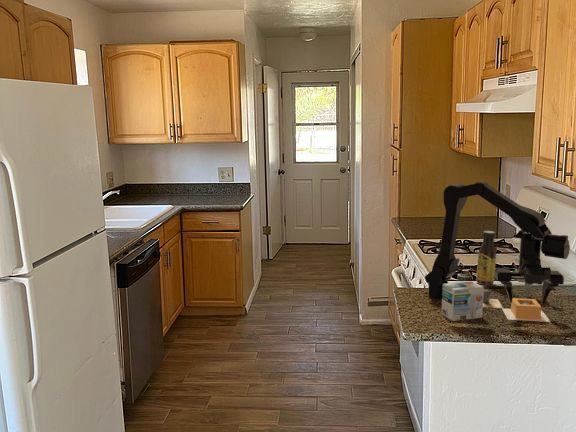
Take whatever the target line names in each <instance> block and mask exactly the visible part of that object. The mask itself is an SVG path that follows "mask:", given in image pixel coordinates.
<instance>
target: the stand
mask: <svg viewBox="0 0 576 432" xmlns="http://www.w3.org/2000/svg"><path fill="white" fill-rule="evenodd" d="M490 292H491V291H490V290H488V289H484V294H483V308H492V309H493V308H495V309H502V308H503V309H504V307H503V306H502V305H503V304H501V302H500V301H499V299H497V298H490V297H491V295H490Z"/></svg>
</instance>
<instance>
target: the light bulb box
mask: <svg viewBox="0 0 576 432" xmlns="http://www.w3.org/2000/svg"><path fill="white" fill-rule="evenodd" d="M484 290H485V288H484V285H482V284H478V283H477V282H475V281H473V280H468V281H461V282H460V281H459V282H448V283H447V284H443V291H442V298H441V314H440V315H442V316H444V317H445V318H447V319H448V320H450V321H451V322H450V323H451V324H459V322H457V321H462V320H463V321H465V320H472V319H473V320H474V319H480V318H481V319H482V318H483V308H484V307H483V294H484Z"/></svg>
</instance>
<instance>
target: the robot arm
mask: <svg viewBox="0 0 576 432" xmlns="http://www.w3.org/2000/svg"><path fill="white" fill-rule="evenodd" d="M477 195H478V196H479V197H481V198H482V199H483V200H485V201H487V202H488V203H490V204H491V205H493V206H494V207H495V208H497V209H498V210H499V211H501V212H503V213H504V214H505V215H507V216H508V217H510V219H511V220H512V221H513V223H514V224H515V225H516V226H517V227H518V228H519V229H520V230H518V232H517V233H516V234H514V235H513V238H514V239H519V240H520V242H519V243H520V244H519V254H518V259H519V260H518V261H519V262H518V267H517V268H518V271H519V272H518V273H517V272H513V271H511V270H510V269H509V268H495V274H494V279H495V280H496V281H497V282H500V283H501V285H504V288H505V291H506V293H507V298H508V300H509V304H511V303H512V298H513V289H512V287H513V282H512V279H515V280H516V279H525V282H526V283H527V284H532V285H535V284H536V285H542V290H541V298H540V299H541V301H540V302H541V303H540V304H541V305H545V303H546V300H547V298H548V297H549V294H550V293H551V291H552V290H553V289H554V288H555V287H556V288H557V287H559V285H564V283H565V277H564V275H563V274H562V273H560V272H559V270H552V269H551V267H548V266H546V267H545V266H544V267H543V266H542V265H541V264H542V259H541V254H542V255H544V256H545V257H548V258H555V259H562V260H567V259H568V257H569V255H570V252H571V251H570V250H571V245H570V240H569V236H568V234H567V235H566V234H561V235H559V234H553V233H552V231H551V229H550V228H549V226H547V224H546V220H545V217H544V215H543V214H542V213H541V212H539V211H537V210H534V209H532V208H529V207H526V206H523V205H521V204H518V203H517V202H516V201H515V200H513V199H511V198H510V197H508V196H506V195H505V194H503V193H502V192H500V191H499V190H497V189H496V188H494V187H493V186H491V185H490V184H489V183H488V182H486V181H483V180H482V181H478V182H475V183H473V184H467V185H464V184H462V183H456V184H451V185H448V186H447V187H445V188H444V190H443V193H442V197H443V198H442V199H443V206H444V209H445V215H444V220H443V228H442V234H441V241H440V247H439V252H438V254H437V256H436V258H435V259H434V262H433V264H432V265H433V266H432V268H431V271H430V272H429V273H428V274H426V275H425V276H424V279H425V283H427V286H428V287H427V296H428V297H429V298H432V299H440V300H442V291H443V284H447V283H449V281H450V280H451V277H452V276H454V275H456V272H457V271H458V270H459V262H460V258H456V254H455V250H456V242H457V235H458V230H459V223H460V217H461V212H462V211H463V209H464V207H465V206H466V202H467V200H468V198H469V197H472V196H477Z"/></svg>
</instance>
